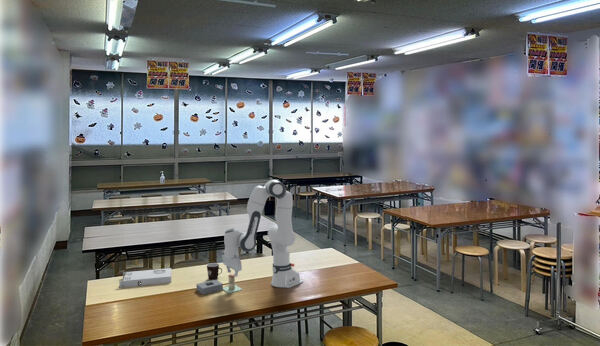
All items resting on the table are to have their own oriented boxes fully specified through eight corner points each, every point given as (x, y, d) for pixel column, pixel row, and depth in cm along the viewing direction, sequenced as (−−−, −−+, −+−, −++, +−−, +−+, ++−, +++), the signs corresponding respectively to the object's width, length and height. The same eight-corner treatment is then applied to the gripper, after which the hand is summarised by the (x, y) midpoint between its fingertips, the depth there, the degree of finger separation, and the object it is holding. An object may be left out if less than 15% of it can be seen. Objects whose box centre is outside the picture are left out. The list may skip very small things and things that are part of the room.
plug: (233, 287, 274) (232, 273, 273) (236, 288, 270) (235, 275, 270) (227, 288, 271) (227, 275, 270) (230, 290, 268) (230, 276, 267)
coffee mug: (204, 278, 292) (204, 264, 291) (216, 275, 297) (215, 262, 297) (211, 282, 283) (211, 268, 282) (223, 280, 288) (223, 266, 287)
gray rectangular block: (216, 285, 278) (216, 279, 278) (222, 289, 270) (222, 283, 270) (196, 289, 270) (196, 284, 270) (202, 294, 262) (202, 288, 262)
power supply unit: (123, 279, 292) (122, 272, 292) (171, 274, 302) (171, 268, 301) (119, 288, 274) (119, 281, 274) (171, 283, 284) (171, 276, 283)
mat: (235, 285, 278) (235, 284, 278) (242, 290, 270) (242, 289, 270) (221, 288, 272) (221, 288, 272) (228, 293, 264) (228, 292, 264)
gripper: (243, 256, 262) (244, 277, 264) (228, 249, 278) (229, 269, 280) (234, 258, 258) (235, 279, 260) (220, 251, 275) (221, 271, 276)
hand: (232, 274), depth 270 cm, fingers open, 8 cm apart
